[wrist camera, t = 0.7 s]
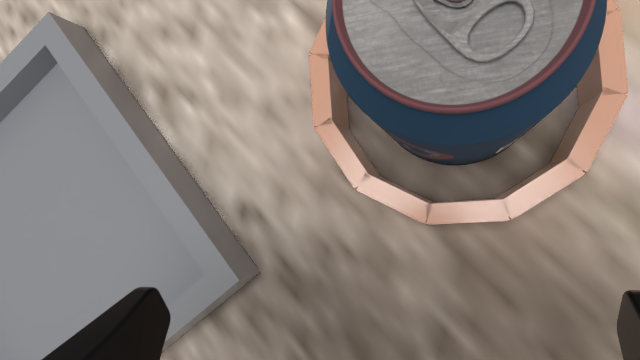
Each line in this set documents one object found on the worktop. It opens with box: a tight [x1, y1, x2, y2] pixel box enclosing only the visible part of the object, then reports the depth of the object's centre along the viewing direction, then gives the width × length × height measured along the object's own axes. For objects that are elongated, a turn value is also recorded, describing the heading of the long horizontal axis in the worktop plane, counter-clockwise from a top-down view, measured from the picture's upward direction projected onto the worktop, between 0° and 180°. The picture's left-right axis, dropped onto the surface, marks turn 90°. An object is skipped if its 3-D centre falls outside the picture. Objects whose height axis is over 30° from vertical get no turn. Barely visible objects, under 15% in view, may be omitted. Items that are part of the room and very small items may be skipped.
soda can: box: [326, 0, 607, 165], centre depth 17 cm, size 7×7×12 cm
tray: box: [0, 12, 260, 360], centre depth 27 cm, size 17×17×2 cm
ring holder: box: [309, 0, 628, 225], centre depth 21 cm, size 12×12×4 cm
